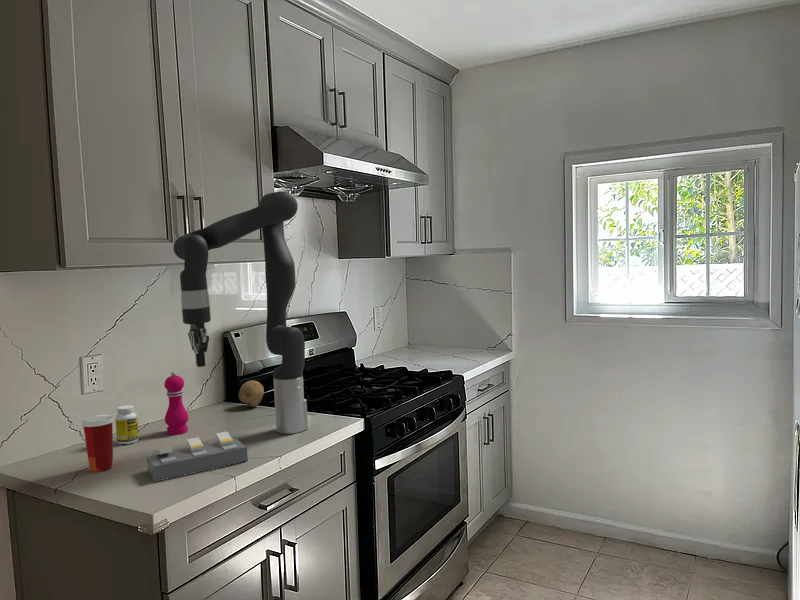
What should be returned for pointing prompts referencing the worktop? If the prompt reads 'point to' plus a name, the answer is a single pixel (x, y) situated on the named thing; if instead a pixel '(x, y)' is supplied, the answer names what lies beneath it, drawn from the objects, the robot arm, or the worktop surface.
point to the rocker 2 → (224, 438)
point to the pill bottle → (126, 425)
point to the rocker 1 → (164, 450)
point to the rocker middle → (195, 444)
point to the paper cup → (99, 442)
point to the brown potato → (251, 393)
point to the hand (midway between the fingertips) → (200, 366)
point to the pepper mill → (175, 405)
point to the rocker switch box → (195, 459)
